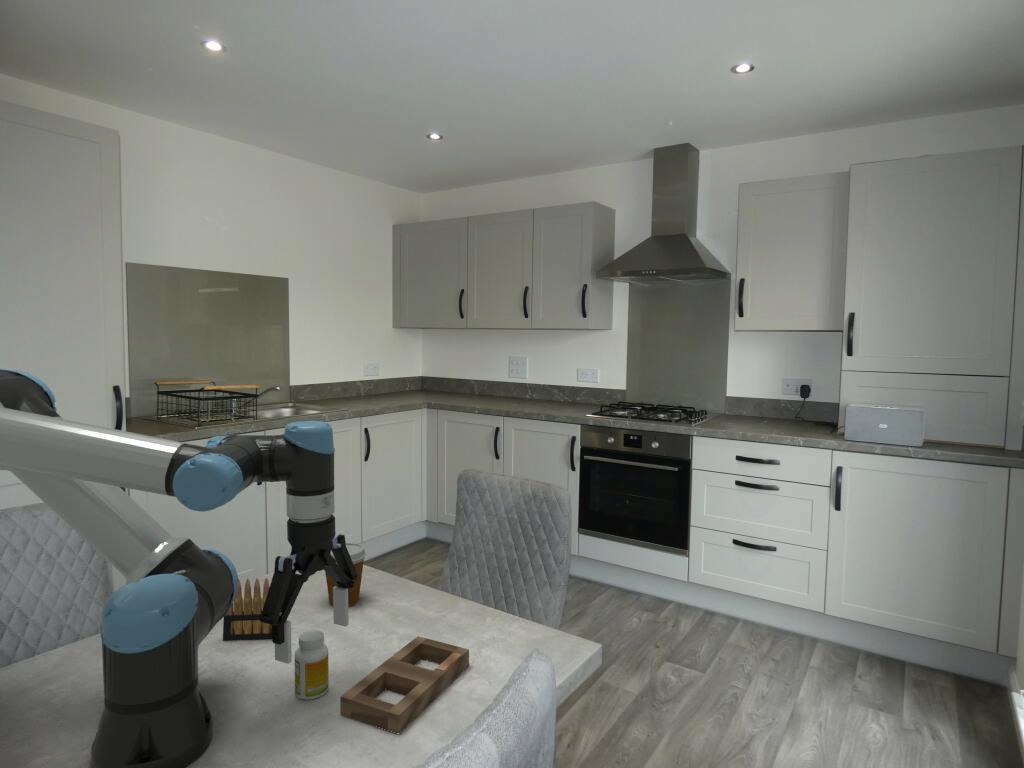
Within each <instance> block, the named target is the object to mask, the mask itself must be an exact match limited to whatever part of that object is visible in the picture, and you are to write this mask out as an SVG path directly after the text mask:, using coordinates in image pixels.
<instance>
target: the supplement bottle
mask: <svg viewBox="0 0 1024 768" xmlns="http://www.w3.org/2000/svg"><path fill="white" fill-rule="evenodd" d="M324 642H325V634H324V632H323V631H322V630H319V629H318V630H316V629H313V630H311V629H310V630H306V631H303V632H301V634H300V635H299V636H298V647H297V648H296V650H295V651H294V656H293V657H294V693H295V696H296V697H297V698H299V699H301V700H305V701H306V700H315V699H319V698H321V697H323V696H324V695H325V694H326V693H327V692H328V690H329V684H330V683H329V647H328V646H327V644H325V643H324Z"/></svg>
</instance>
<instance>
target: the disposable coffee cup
mask: <svg viewBox="0 0 1024 768" xmlns="http://www.w3.org/2000/svg"><path fill="white" fill-rule="evenodd" d="M346 547H347V550H348V552H349V555H350V557H351V559H352V562H353V564H354V567H355V569H356V571H357V574H358V578H357V579H356V580H353V581H354V582H355V586H354V587H353V588H349V604H348V608H350V607H352V606H354V605H357V604H358V603H359V600H360V591H361V585H362V584H361V583H362V576H363V569H364V561H365V558H366V556H367V551H365V547H364V546H363V545H362V544H359V543H355V542H346ZM331 555H332V557H333V558H334V559H335V557H334V555H333V553H332V550H331ZM336 564H337V562H336ZM337 565H338V564H337ZM324 572H325V571H324ZM325 579H326V587H327V588H326V589H327V594H328V603H329V606H331V607H333V587H335V586H337V587H338V585H337V584H336V583H335V582H334V581H333V580H332V579H331V577H330V576H329V575H328V574H327V573H326V572H325Z"/></svg>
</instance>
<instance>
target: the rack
mask: <svg viewBox="0 0 1024 768" xmlns="http://www.w3.org/2000/svg"><path fill="white" fill-rule="evenodd" d="M420 660H424V661H427V660H428V661H427V662H432V663H435V664H439V665H438V666H436V668H435V669H434V670H433V669H429V668H426V667H422V666H418V665H415V664H417V663H418V662H419V661H420ZM417 661H418V662H417ZM468 666H470V649H469V648H465V647H461V646H458V645H453V644H450V643H447V642H443V641H438V640H435V639H430V638H427V637H422V636H420V635H417V636H416V637H415V638H414V639H412V640H411V641H409V643H407V644H406V645H404V646H403V647H402V648H401V649H400V650H398V651H397V652H395V653H394V654H393V655H392V656H390V657H389V658H388V659H386V660H385V661H384V662H383V663H381V664H380V665H378V666H377V667H376V668H374V670H372V671H371V672H370V673H368V674H367V675H366V676H364V677H363V678H362V679H361V680H359V681H358V682H357V683H356V684H355V685H353V686H352V687H350V688H349V689H347V690H346V691H345V692H344V693H343V694H341V695H340V696H339V697H340V698H339V701H340V703H339V705H340V707H339V711H340V712H339V713H340V716H344V717H346V718H350V719H352V720H355V721H358V722H361V723H363V724H366V725H369V724H370V726H372V725H373V726H372V727H375V726H377V727H376V728H378V727H380V728H379V729H381V728H383V729H382V730H384V729H386V730H385V731H387V730H389V731H388V732H390V731H392V732H391V733H393V732H395V733H394V734H396V733H400V732H401V731H402V730H403V729H404V728H405V727H406V726H407V725H408V724H409V723H410V722H411V723H412V722H413V721H414V720H415V719H417V717H418V716H420V714H421V713H422V712H423V711H424V710H425V709H426V708H427V707H429V705H430V704H431V703H433V702H434V700H435V699H436V698H437V697H438V696H440V694H442V693H443V691H445V690H446V688H448V686H450V685H451V683H453V681H454V680H455V679H457V678H458V677H459V676H460V675H461V674H462V673H463V672H464V671H465V670H466V669H467V667H468ZM463 670H464V671H463ZM461 672H462V673H461ZM459 674H460V675H459ZM458 675H459V676H458ZM457 676H458V677H457ZM456 677H457V678H456ZM385 690H388V691H392V692H394V693H398V694H400V695H403V694H404V695H403V698H401V699H400V700H399V701H398V702H397V703H396V704H393V703H390V702H387V701H385V700H382V699H378V698H377V696H378V695H380V694H381V693H382V692H383V691H385ZM423 709H424V710H423ZM411 723H410V724H411ZM410 724H409V725H410ZM409 725H408V726H409ZM408 726H407V727H408ZM407 727H406V728H407ZM406 728H405V729H406ZM405 729H404V730H405ZM404 730H403V731H404ZM403 731H402V732H403ZM402 732H401V733H402ZM401 733H400V734H401Z"/></svg>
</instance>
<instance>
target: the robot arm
mask: <svg viewBox="0 0 1024 768" xmlns="http://www.w3.org/2000/svg"><path fill="white" fill-rule="evenodd" d="M56 402H57V400H56V398H55V395H54V392H53V391H52V390H51V388H50V387H49V386H48V384H46V383H45V382H44V381H43V380H41V379H40V378H39V377H37V376H35V375H33V374H31V373H29V372H25V371H21V370H15V369H4V368H0V471H9V472H11V473H12V474H13V476H15V477H16V478H17V479H18V480H19V481H21V482H22V484H23V485H25V486H26V487H27V488H28V489H29V490H30V491H31V492H32V493H33V494H35V496H37V497H38V499H40V500H41V501H42V502H43V503H44V504H45V505H46V506H48V508H49V509H50V510H52V511H53V512H54V514H56V515H57V516H59V518H60V519H62V520H63V522H65V523H66V524H67V525H68V526H69V527H70V528H72V530H74V531H75V533H77V534H78V536H79V537H81V538H82V539H83V540H84V541H85V542H86V543H88V544H89V545H90V546H91V547H92V548H93V549H94V550H95V551H96V552H97V553H98V554H100V556H101V557H102V558H104V559H105V560H106V561H107V562H108V563H109V564H110V565H111V566H113V568H115V570H117V571H118V572H119V573H120V574H121V575H122V576H123V577H124V578H125V585H123V586H121V587H119V588H118V589H117V590H116V591H114V592H113V593H112V594H111V595H110V596H109V597H108V599H107V600H105V603H104V605H103V608H102V611H101V623H100V627H99V628H100V629H99V634H100V639H101V653H102V654H101V655H102V674H103V678H102V679H103V699H104V704H103V705H104V708H103V711H102V715H101V718H100V721H99V723H98V726H97V727H98V728H97V731H96V734H95V738H94V740H93V741H92V744H91V748H90V749H91V750H90V767H91V768H185V767H187V766H188V765H190V764H192V763H193V762H194V761H195V760H196V759H198V758H199V757H200V756H201V755H202V754H204V752H205V751H206V750H207V749H208V747H209V746H210V744H211V741H212V739H213V736H214V735H213V733H214V731H213V725H214V724H213V715H212V714H211V711H210V709H209V705H208V704H207V702H206V699H205V698H204V695H203V693H202V690H201V688H200V684H199V646H200V645H201V643H202V642H203V641H204V639H206V638H207V636H208V635H209V634H210V632H211V631H212V630H213V629H214V628H215V626H216V625H217V624H218V623H219V622H220V621H221V620H222V619H224V616H225V615H226V614H227V612H228V611H229V609H230V607H231V605H232V603H233V604H234V600H235V597H236V595H237V591H238V579H239V575H238V572H237V568H236V567H235V565H234V563H233V562H232V560H231V559H230V558H229V557H228V556H227V555H225V554H224V553H222V552H220V551H218V550H215V549H207V548H200V547H199V546H198V545H197V544H196V543H195V542H193V540H192V539H191V538H189V537H175V536H172V534H170V533H169V531H167V530H166V529H165V528H164V527H163V526H162V525H161V524H159V522H157V521H156V520H155V519H154V518H153V517H152V516H151V515H150V514H149V513H148V512H147V511H146V510H145V509H143V508H142V507H141V506H140V505H139V504H138V503H137V502H136V501H135V500H134V498H132V497H131V496H130V495H129V494H127V492H125V490H124V489H130V490H136V491H142V492H146V493H152V494H156V495H162V496H168V497H174V498H176V500H177V501H178V502H180V504H182V505H183V506H185V508H187V509H188V510H191V511H194V512H201V513H202V512H209V511H212V510H215V509H218V508H220V507H222V506H225V505H226V504H228V503H230V502H231V501H232V500H234V499H235V497H236V496H237V495H238V494H240V493H241V492H242V491H244V490H245V489H247V488H248V487H250V486H252V484H254V483H266V482H267V483H269V482H272V483H273V482H274V483H279V482H280V483H281V482H285V486H286V488H285V489H286V491H285V492H286V500H285V501H286V517H287V518H288V520H287V521H286V533H287V534H286V535H287V536H286V537H287V539H286V540H287V542H288V543H289V544H290V546H291V550H290V554H289V555H285V556H281V555H277V556H276V557H275V558H274V559H275V560H274V570H273V571H274V572H273V575H272V579H271V581H270V583H269V591H268V594H267V597H266V600H265V604H264V607H263V610H262V613H261V617H260V622H263V623H266V624H270V625H271V628H272V639H271V641H272V643H273V644H274V661H277V662H280V663H284V664H287V665H289V664H290V663H292V661H293V660H292V659H293V658H292V655H293V654H292V621H291V620H288V618H289V616H290V614H291V612H292V609H293V607H294V605H295V603H296V600H297V599H298V596H299V594H300V592H301V591H302V588H303V585H304V584H305V583H307V581H308V580H309V578H310V576H313V575H315V574H317V572H321V571H323V570H324V571H323V572H326V573H327V574H328V575H329V576H330V577H331V579H332V580H333V581H334V582H335V583H336V584H337V585H338V587H337V586H335V587H333V606H332V607H333V608H332V609H333V610H332V612H333V613H332V614H333V615H332V616H333V617H332V619H333V624H334V625H339V626H341V627H342V626H343V627H347V626H349V624H350V623H349V607H348V604H349V588H353V587H354V586H355V582H354V581H353V580H356V579H357V578H358V574H357V571H356V569H355V567H354V564H353V562H352V559H351V557H350V555H349V552H348V550H347V547H346V543H347V542H346V536H345V534H341V533H340V534H339V533H336V517H335V516H334V513H335V510H336V509H335V508H336V506H335V452H336V451H335V450H336V449H335V446H334V435H333V434H334V433H333V428H332V425H331V424H330V423H328V422H326V421H322V420H307V421H303V420H302V421H292V422H289V423H288V424H286V425H285V427H284V431H283V433H282V434H277V435H275V434H274V435H273V434H272V435H267V434H265V435H264V434H263V435H260V434H257V435H255V434H254V435H253V434H251V435H248V434H233V433H231V434H228V435H216V436H215V435H214V436H212V437H211V438H210V439H208V440H207V443H206V445H204V446H201V445H198V444H197V445H196V444H189V443H186V442H182V441H177V440H172V439H167V438H161V437H157V436H150V435H146V434H141V433H137V432H129V431H126V430H120V429H115V428H109V427H105V426H100V425H96V424H90V423H84V422H80V421H74V420H69V419H65V418H63V417H62V416H61V415H60V414H59V413H58V411H57V410H58V408H57V406H56V405H55V403H56ZM123 488H124V489H123ZM331 550H332V553H333V555H334V557H335V559H334V558H333V557H332V555H331ZM336 562H337V564H338V565H337V564H336ZM297 572H298V573H297ZM280 612H281V615H280Z"/></svg>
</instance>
